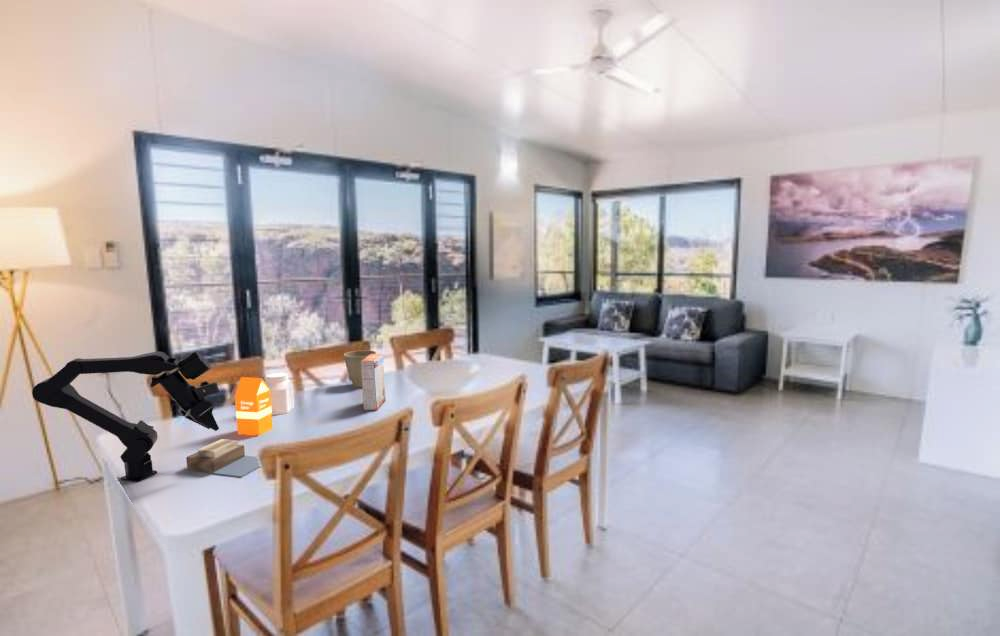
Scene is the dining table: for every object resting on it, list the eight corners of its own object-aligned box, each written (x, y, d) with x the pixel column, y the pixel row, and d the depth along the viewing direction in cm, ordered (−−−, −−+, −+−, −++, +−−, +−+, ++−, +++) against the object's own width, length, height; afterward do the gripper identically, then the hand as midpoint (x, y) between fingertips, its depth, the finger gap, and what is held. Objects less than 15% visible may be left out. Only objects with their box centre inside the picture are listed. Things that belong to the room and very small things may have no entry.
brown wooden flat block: (187, 469, 153) (186, 457, 152) (219, 454, 164) (218, 442, 164) (214, 473, 150) (213, 460, 150) (245, 457, 162) (244, 445, 161)
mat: (213, 474, 150) (213, 472, 150) (246, 456, 162) (246, 455, 162) (241, 477, 147) (241, 476, 147) (272, 459, 160) (272, 458, 159)
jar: (284, 415, 204) (282, 378, 202) (261, 415, 204) (258, 378, 202) (297, 406, 215) (294, 371, 213) (274, 406, 215) (272, 371, 213)
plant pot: (339, 388, 242) (337, 355, 240) (357, 380, 256) (355, 349, 254) (366, 390, 238) (364, 357, 236) (383, 383, 252) (382, 351, 250)
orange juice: (259, 435, 181) (255, 380, 178) (237, 434, 182) (232, 379, 180) (273, 428, 188) (269, 375, 186) (252, 427, 190) (247, 374, 187)
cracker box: (372, 400, 222) (370, 353, 219) (386, 400, 221) (384, 353, 219) (362, 410, 208) (360, 360, 205) (377, 410, 208) (374, 360, 205)
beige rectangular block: (198, 456, 153) (197, 449, 153) (222, 445, 162) (221, 439, 161) (214, 458, 151) (214, 451, 151) (237, 446, 160) (237, 440, 160)
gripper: (211, 371, 148) (245, 412, 153) (197, 372, 162) (229, 410, 167) (174, 396, 141) (211, 438, 146) (163, 395, 155) (198, 433, 160)
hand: (214, 428), depth 155 cm, fingers open, 9 cm apart
